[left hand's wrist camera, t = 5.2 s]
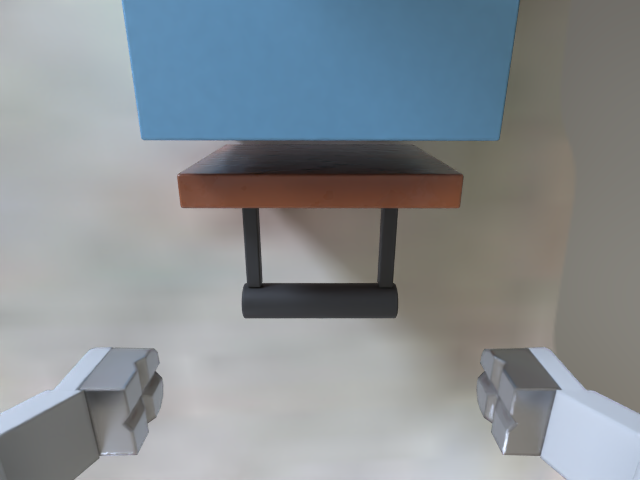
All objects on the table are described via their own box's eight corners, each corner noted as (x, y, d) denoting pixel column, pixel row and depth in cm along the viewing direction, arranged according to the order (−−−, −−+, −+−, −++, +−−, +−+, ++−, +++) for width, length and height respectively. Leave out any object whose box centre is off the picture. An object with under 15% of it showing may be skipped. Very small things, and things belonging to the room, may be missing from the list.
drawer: (404, 269, 24) (443, 351, 16) (234, 269, 23) (196, 351, 16) (450, -321, 15) (570, -690, 8) (189, -322, 15) (73, -694, 8)
